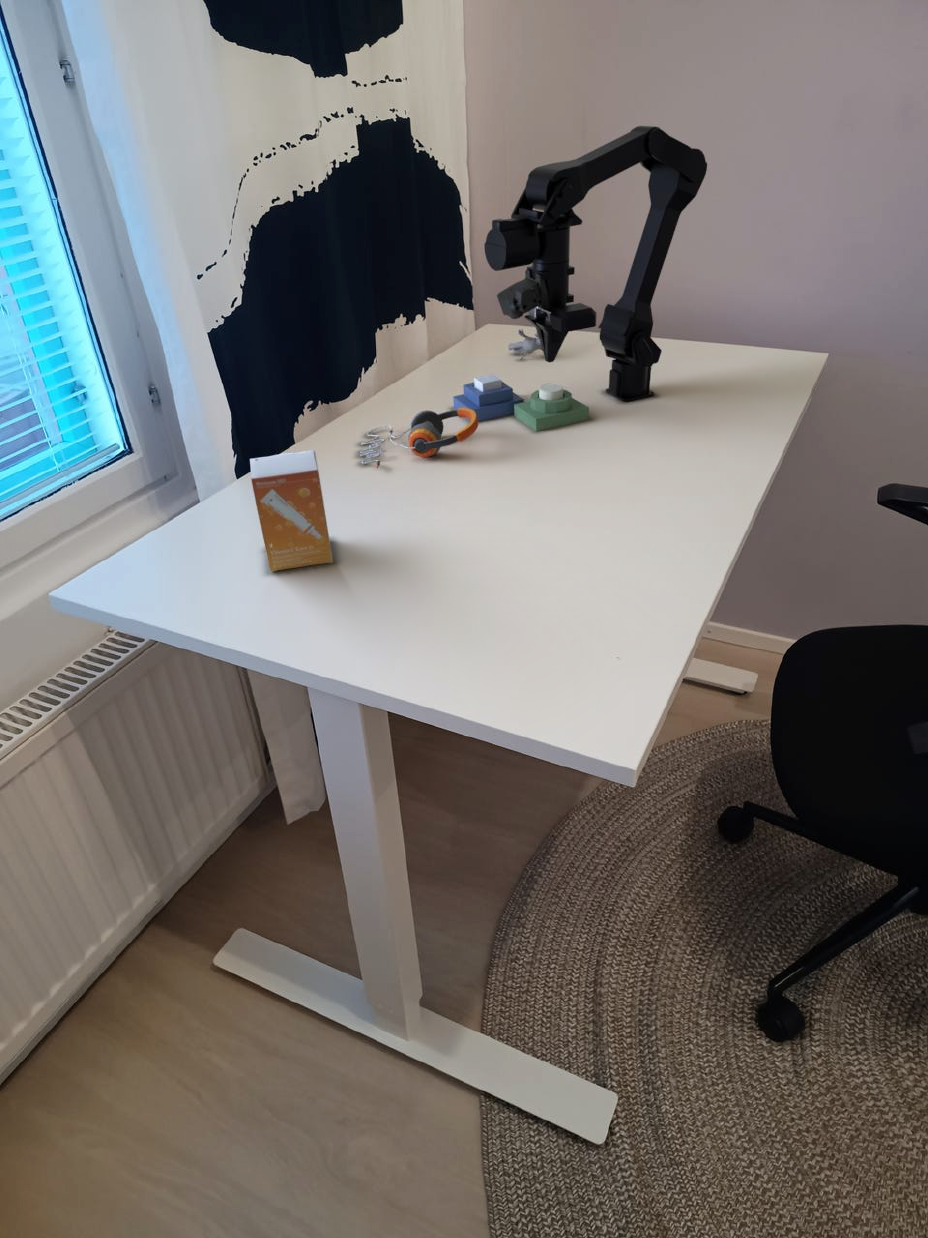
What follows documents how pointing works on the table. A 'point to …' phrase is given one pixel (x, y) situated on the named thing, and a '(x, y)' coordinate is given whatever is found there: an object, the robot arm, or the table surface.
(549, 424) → the green switch
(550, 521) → the table surface
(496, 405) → the blue switch
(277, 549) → the small box
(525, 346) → the grey figurine
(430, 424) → the headphones
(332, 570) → the table surface
